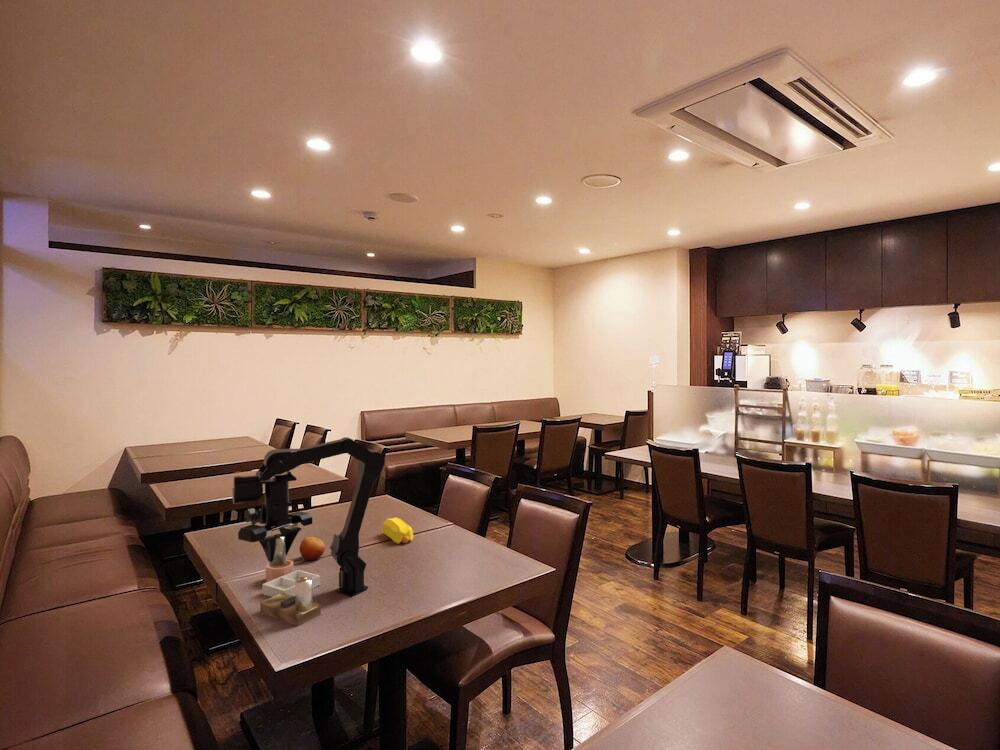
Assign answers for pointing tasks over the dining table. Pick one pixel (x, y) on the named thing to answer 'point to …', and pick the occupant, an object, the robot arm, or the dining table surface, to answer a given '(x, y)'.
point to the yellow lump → (397, 530)
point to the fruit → (311, 548)
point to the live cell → (303, 594)
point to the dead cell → (279, 551)
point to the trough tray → (288, 583)
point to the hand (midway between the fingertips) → (277, 558)
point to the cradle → (288, 609)
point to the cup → (279, 570)
